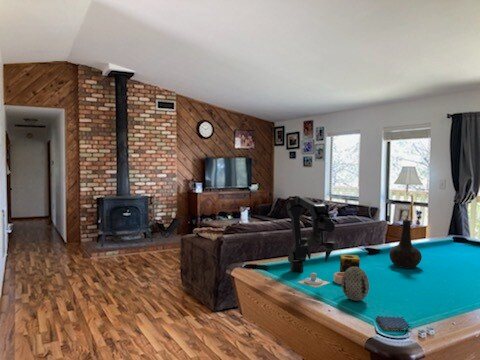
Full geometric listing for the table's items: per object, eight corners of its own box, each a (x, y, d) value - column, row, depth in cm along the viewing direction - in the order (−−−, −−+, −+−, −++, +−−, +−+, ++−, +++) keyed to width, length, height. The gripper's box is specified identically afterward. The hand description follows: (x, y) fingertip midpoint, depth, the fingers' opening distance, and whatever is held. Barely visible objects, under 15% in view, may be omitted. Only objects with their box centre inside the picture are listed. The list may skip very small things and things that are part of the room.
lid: (300, 282, 191) (301, 273, 190) (311, 278, 197) (311, 269, 197) (315, 286, 184) (316, 277, 184) (326, 282, 191) (326, 273, 190)
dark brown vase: (388, 268, 222) (390, 221, 221) (389, 261, 239) (390, 217, 238) (422, 271, 215) (423, 223, 214) (420, 264, 232) (421, 219, 231)
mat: (296, 283, 191) (296, 281, 191) (310, 278, 199) (310, 277, 199) (316, 289, 182) (316, 287, 182) (330, 284, 191) (330, 282, 190)
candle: (360, 277, 202) (360, 259, 202) (340, 276, 204) (341, 258, 204) (358, 272, 212) (358, 255, 212) (339, 271, 214) (339, 254, 214)
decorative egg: (353, 306, 160) (354, 271, 160) (335, 297, 171) (336, 264, 170) (374, 302, 165) (375, 268, 164) (356, 294, 176) (357, 262, 175)
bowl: (330, 283, 192) (331, 274, 192) (340, 279, 198) (340, 271, 198) (346, 287, 186) (347, 278, 185) (355, 283, 192) (356, 274, 192)
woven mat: (374, 320, 147) (374, 314, 147) (402, 321, 146) (402, 316, 146) (382, 331, 137) (382, 326, 137) (412, 333, 136) (412, 327, 136)
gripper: (293, 229, 189) (293, 260, 189) (328, 233, 177) (328, 266, 178) (304, 226, 198) (303, 256, 198) (338, 230, 186) (337, 262, 187)
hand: (317, 260), depth 190 cm, fingers open, 9 cm apart
